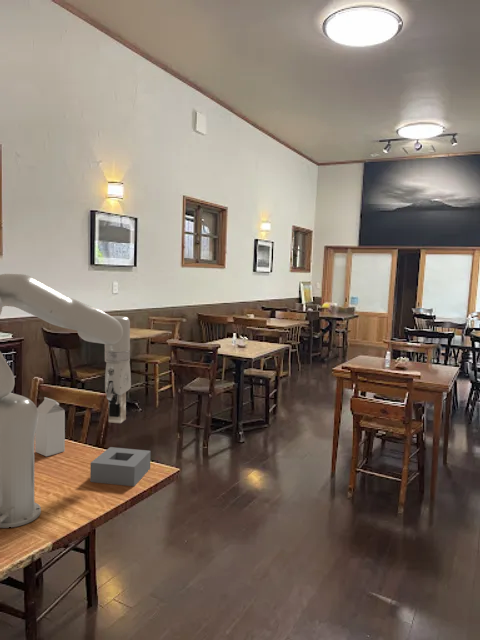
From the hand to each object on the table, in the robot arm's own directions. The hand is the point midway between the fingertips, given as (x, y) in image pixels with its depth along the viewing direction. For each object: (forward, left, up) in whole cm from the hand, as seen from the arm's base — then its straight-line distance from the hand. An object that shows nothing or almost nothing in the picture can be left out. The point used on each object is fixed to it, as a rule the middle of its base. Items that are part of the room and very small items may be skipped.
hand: (117, 413), depth 150 cm
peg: (0, 0, -2) cm, 2 cm away
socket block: (0, -1, -20) cm, 20 cm away
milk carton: (+13, +31, -20) cm, 39 cm away
